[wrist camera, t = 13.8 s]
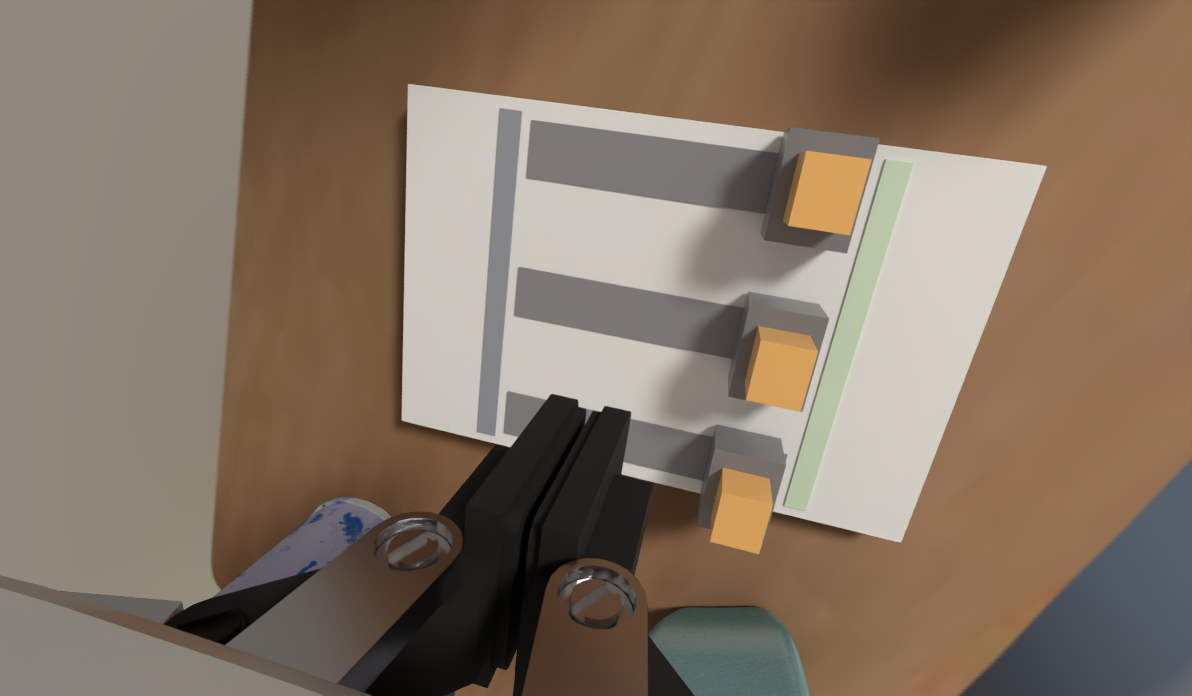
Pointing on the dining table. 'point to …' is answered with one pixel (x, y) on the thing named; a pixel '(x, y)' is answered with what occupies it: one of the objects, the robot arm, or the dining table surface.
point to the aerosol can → (313, 542)
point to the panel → (691, 292)
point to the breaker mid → (776, 351)
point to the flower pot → (731, 652)
